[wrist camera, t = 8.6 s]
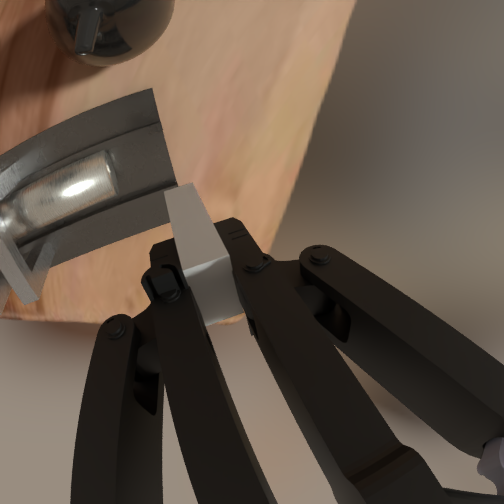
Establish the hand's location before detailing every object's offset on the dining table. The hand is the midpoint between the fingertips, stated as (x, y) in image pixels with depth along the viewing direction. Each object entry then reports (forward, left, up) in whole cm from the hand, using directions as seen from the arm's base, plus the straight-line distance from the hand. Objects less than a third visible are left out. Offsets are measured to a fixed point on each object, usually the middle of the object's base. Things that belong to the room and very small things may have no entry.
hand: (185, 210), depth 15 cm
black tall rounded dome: (-14, -2, -16) cm, 21 cm away
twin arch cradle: (+1, -13, -16) cm, 20 cm away
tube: (+1, -14, -14) cm, 20 cm away
